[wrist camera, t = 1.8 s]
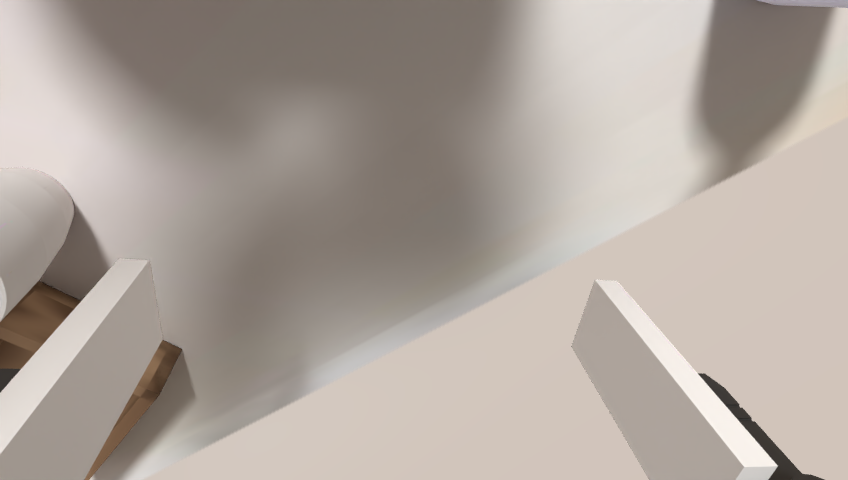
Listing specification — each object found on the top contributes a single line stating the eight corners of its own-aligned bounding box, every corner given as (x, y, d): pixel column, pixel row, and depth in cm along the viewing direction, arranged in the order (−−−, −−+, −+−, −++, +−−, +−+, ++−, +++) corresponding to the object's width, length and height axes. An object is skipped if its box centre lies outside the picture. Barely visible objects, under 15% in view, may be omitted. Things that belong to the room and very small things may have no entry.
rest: (-52, 404, 39) (-104, 457, 35) (28, 276, 35) (-20, 317, 30) (94, 456, 44) (65, 508, 39) (182, 349, 39) (159, 394, 35)
